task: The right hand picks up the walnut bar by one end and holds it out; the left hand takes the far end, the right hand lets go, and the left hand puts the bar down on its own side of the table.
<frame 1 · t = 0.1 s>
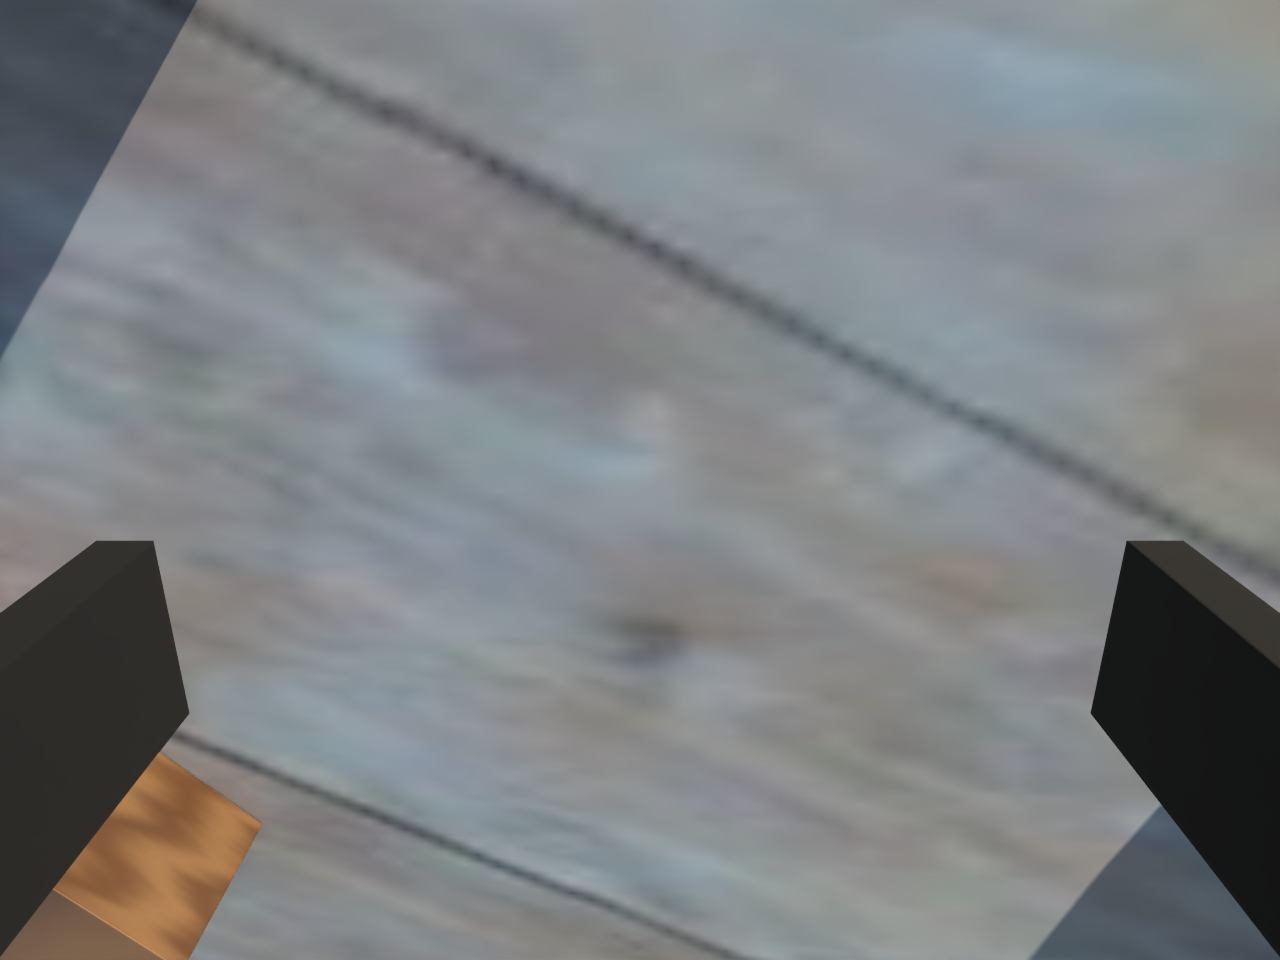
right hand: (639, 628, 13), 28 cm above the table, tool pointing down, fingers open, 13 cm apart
bar: (42, 724, 46), on the table
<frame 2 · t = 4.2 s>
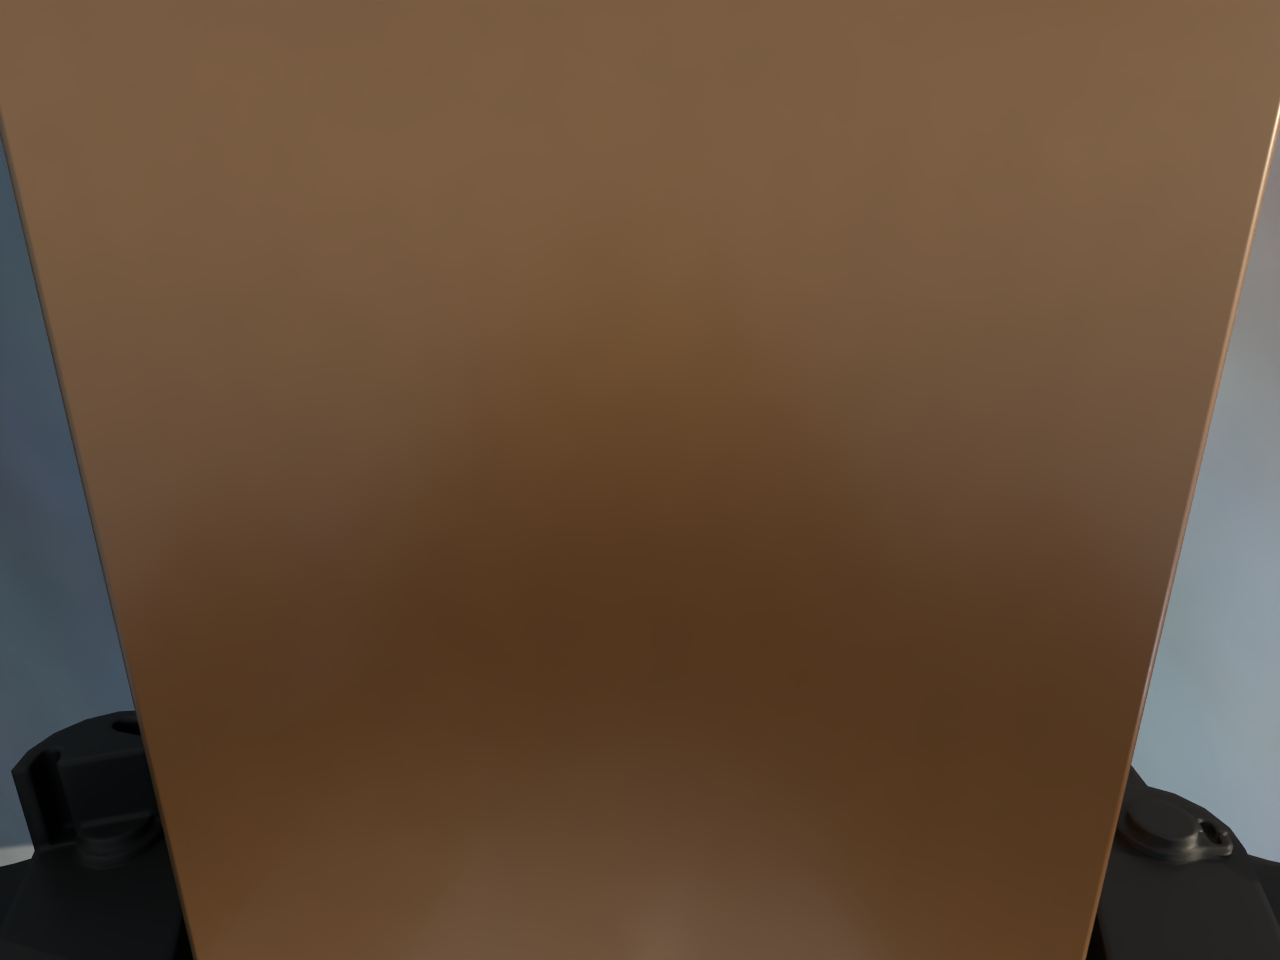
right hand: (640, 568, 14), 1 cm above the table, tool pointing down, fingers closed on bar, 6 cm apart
bar: (639, 31, 12), on the table, touching right hand
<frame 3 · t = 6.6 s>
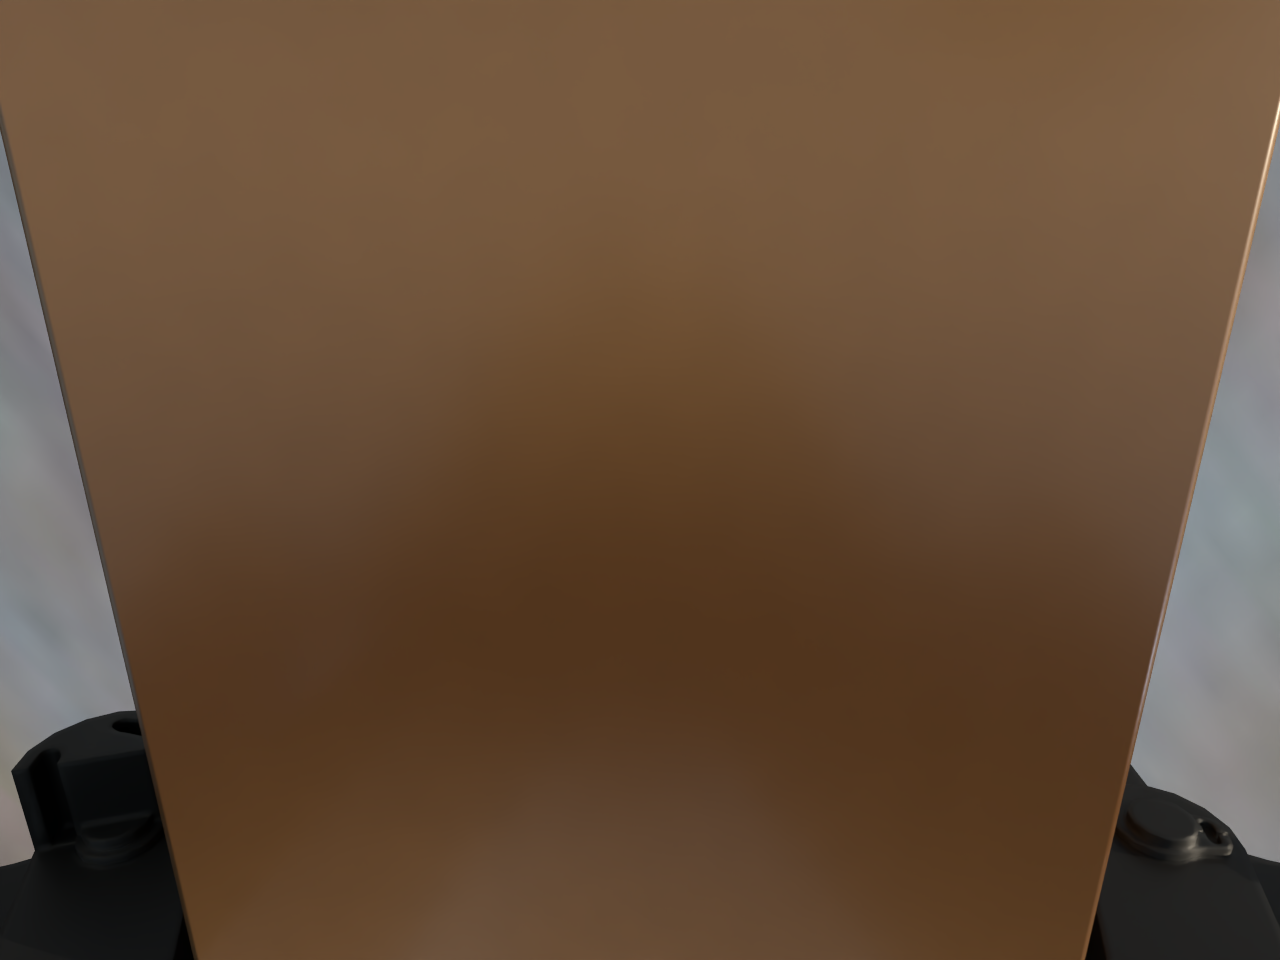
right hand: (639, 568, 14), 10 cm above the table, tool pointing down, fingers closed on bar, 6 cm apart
bar: (639, 30, 12), point 10 cm above the table, touching right hand
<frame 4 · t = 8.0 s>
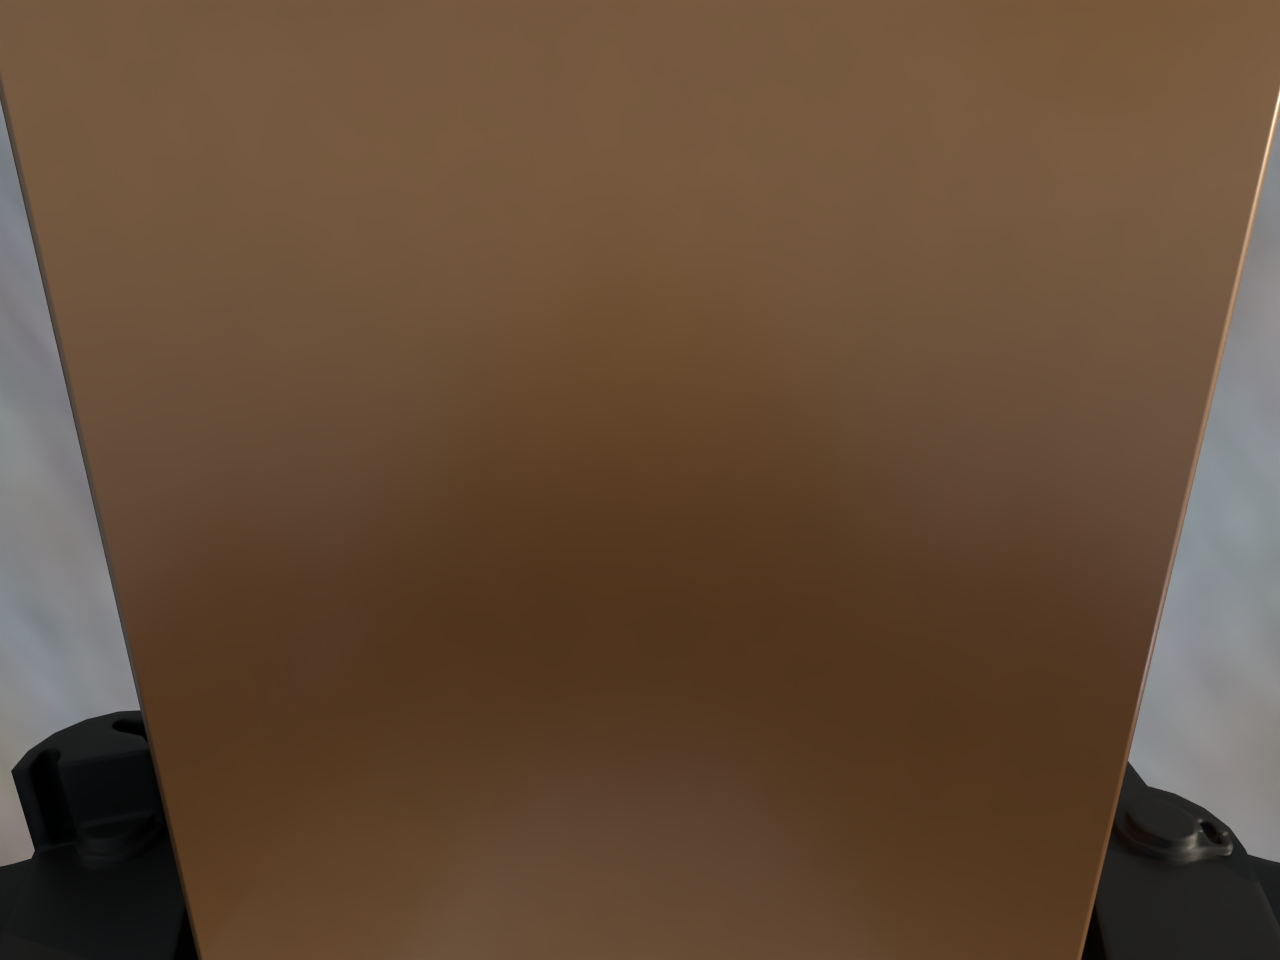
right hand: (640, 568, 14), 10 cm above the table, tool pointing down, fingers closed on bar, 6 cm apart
bar: (641, 29, 12), point 10 cm above the table, touching right hand, left hand
when the right hand's fingers open (10 cm above the table, at t = 8.9 s): bar stays where it is, held by the left hand.
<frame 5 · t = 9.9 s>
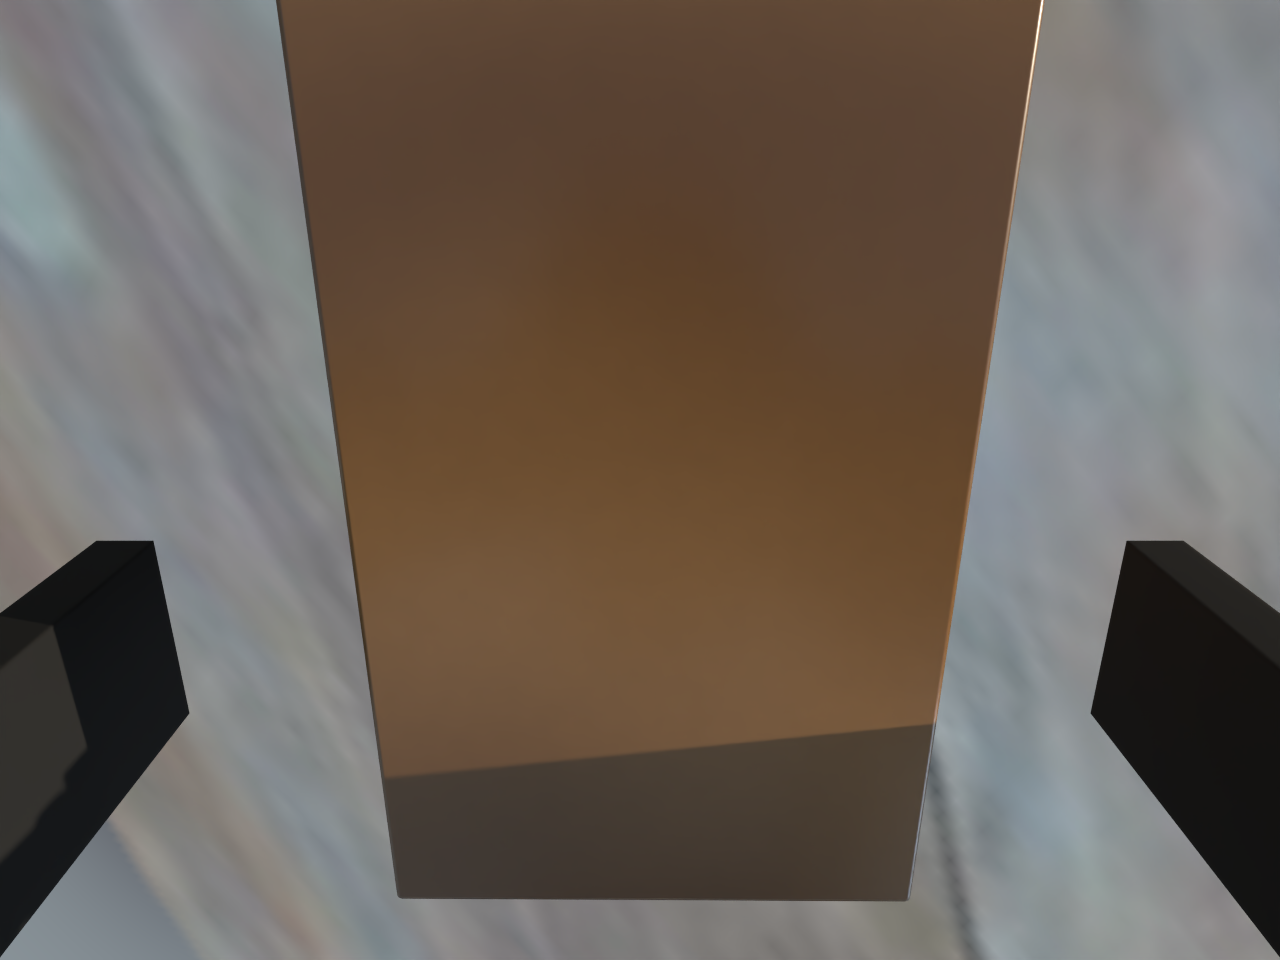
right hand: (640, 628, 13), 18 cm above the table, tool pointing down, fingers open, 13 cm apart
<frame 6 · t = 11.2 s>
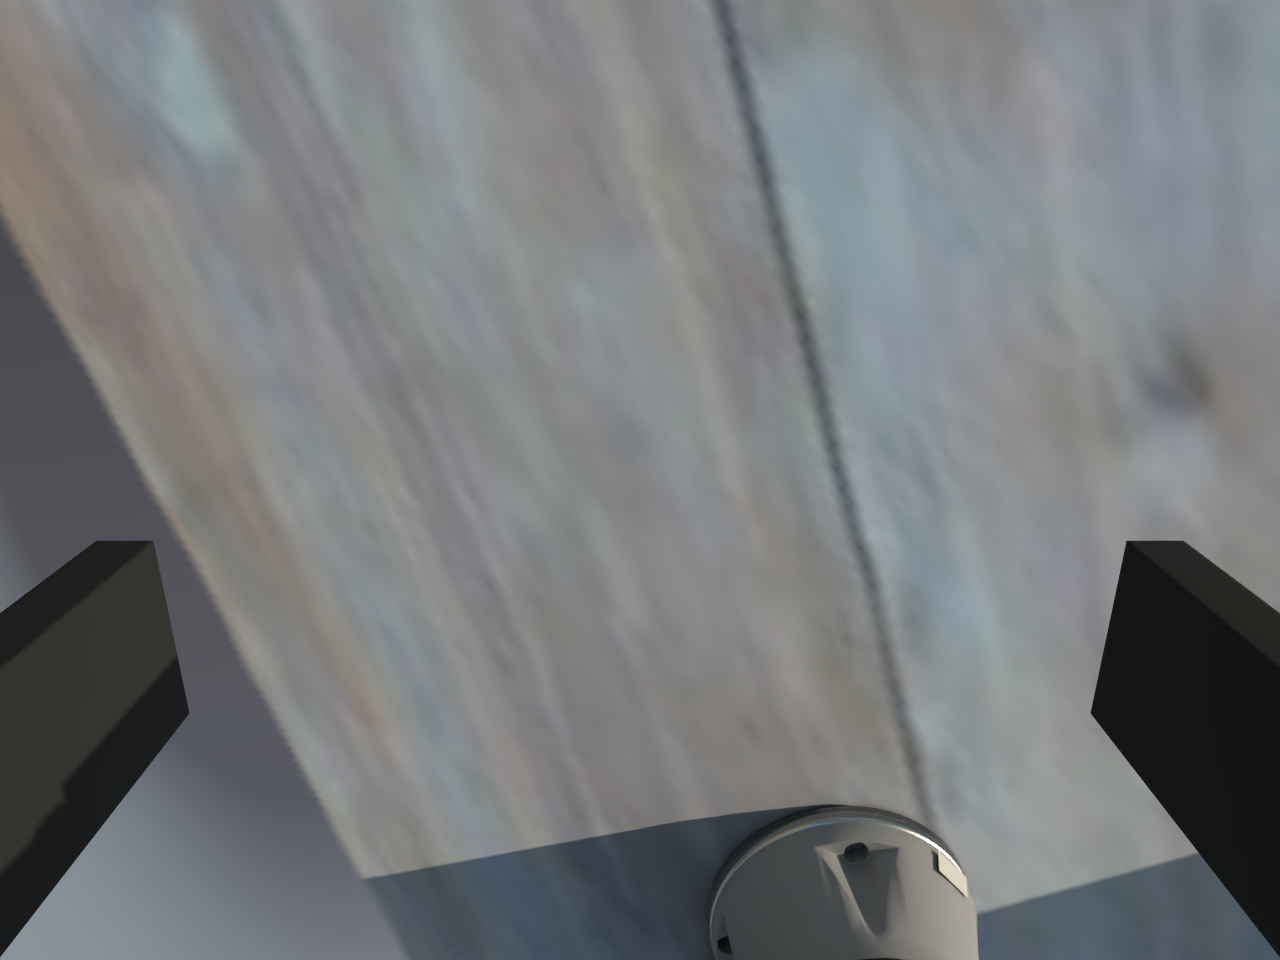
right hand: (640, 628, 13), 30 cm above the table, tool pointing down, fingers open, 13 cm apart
when the left hand's fingers open (5 cm above the table, at t = 14.6 s): bar stays where it is, on the table.
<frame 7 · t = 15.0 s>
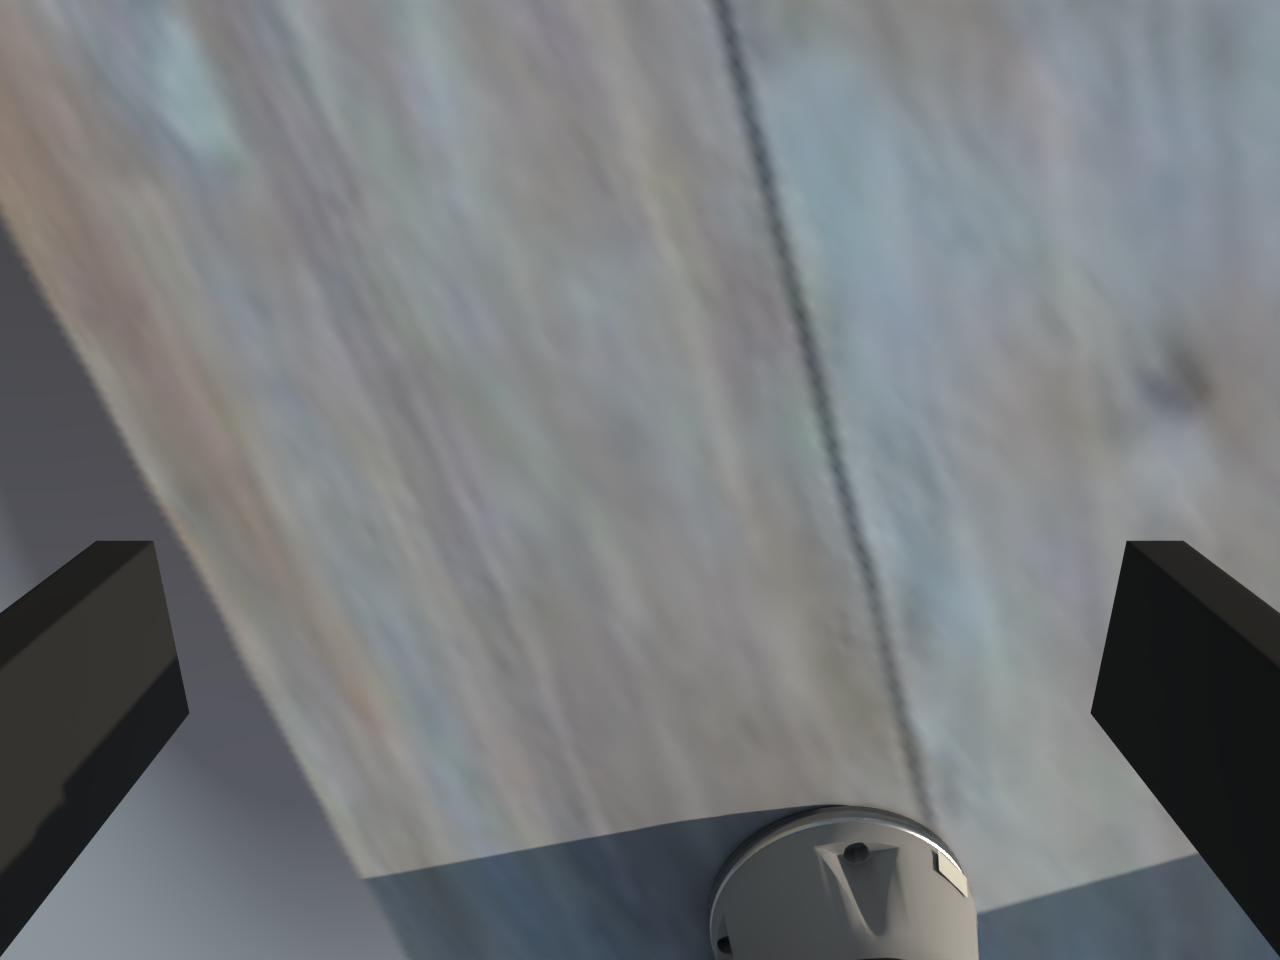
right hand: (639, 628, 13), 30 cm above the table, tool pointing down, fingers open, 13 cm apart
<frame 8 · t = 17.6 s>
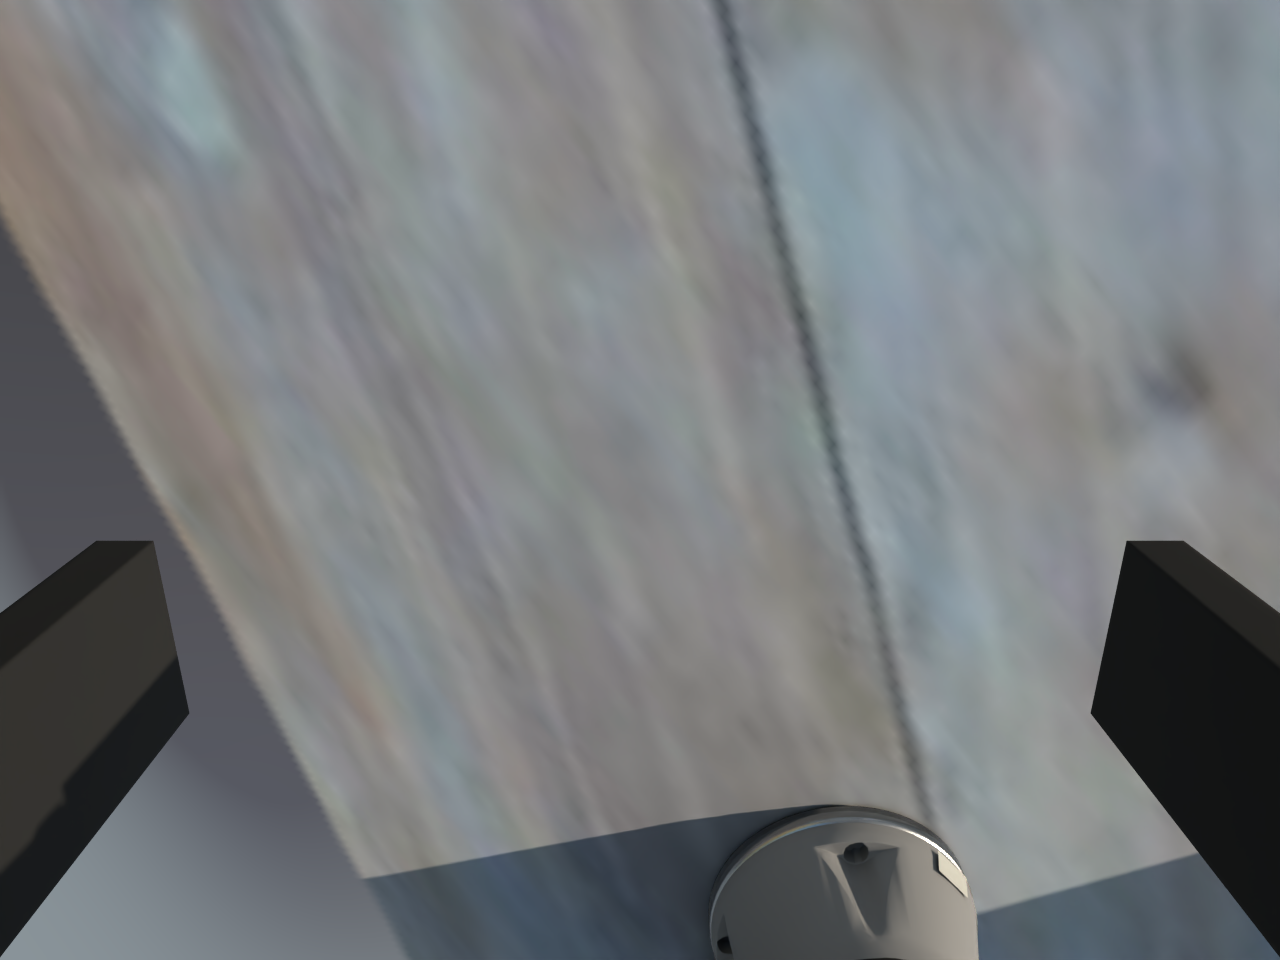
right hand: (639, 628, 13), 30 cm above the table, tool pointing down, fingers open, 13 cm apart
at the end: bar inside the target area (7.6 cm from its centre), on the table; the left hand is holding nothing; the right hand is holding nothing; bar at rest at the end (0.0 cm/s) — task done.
